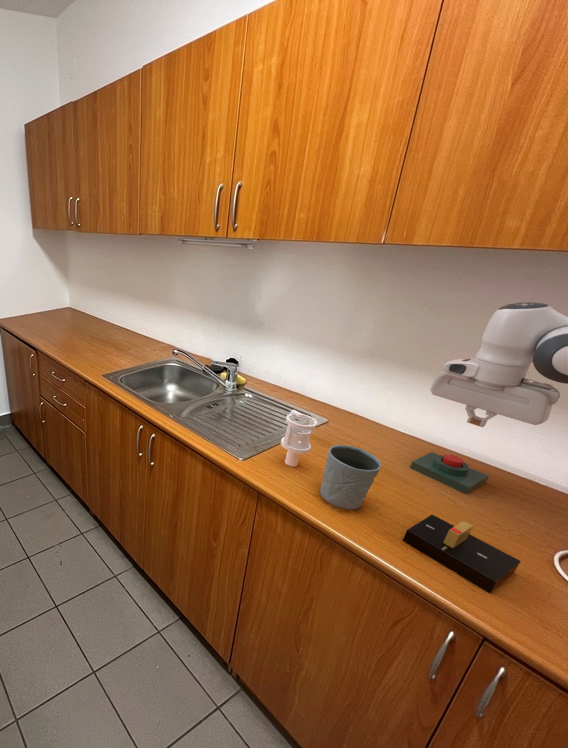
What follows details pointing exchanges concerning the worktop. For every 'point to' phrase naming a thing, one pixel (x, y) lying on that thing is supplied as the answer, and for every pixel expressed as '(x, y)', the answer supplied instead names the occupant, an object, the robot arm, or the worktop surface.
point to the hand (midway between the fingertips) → (475, 424)
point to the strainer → (297, 437)
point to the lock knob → (458, 534)
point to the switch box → (449, 473)
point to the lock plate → (462, 554)
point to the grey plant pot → (348, 476)
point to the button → (452, 460)
